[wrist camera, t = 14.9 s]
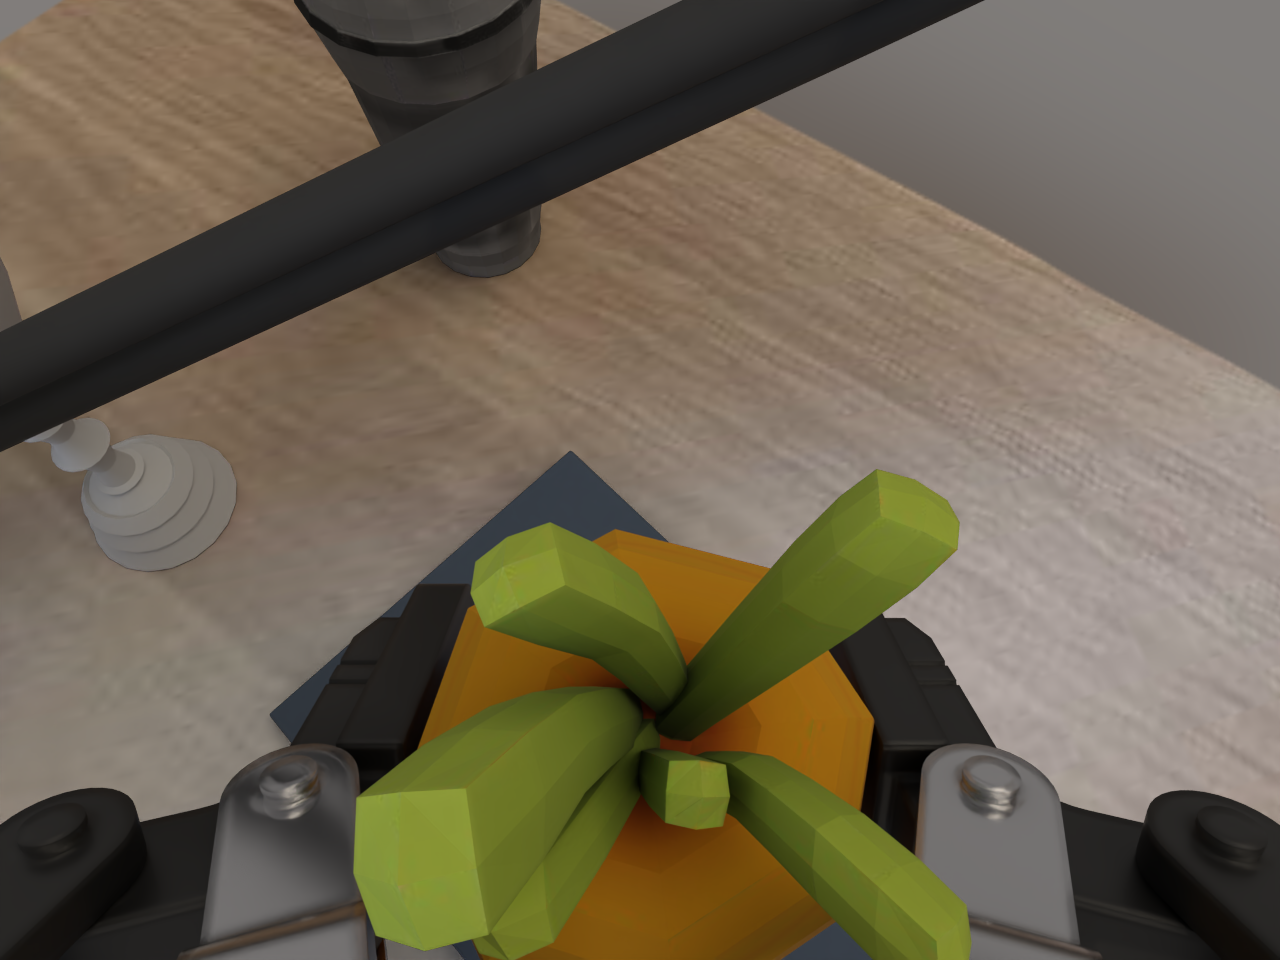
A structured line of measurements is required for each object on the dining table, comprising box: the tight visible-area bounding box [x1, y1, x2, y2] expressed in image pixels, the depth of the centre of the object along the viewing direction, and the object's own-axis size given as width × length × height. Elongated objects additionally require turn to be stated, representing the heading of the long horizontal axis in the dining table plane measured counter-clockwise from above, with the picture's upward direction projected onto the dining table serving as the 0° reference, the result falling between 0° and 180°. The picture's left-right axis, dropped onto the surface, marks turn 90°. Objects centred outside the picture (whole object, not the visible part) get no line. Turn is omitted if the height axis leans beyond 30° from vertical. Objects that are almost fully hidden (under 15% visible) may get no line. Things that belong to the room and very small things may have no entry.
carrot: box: [353, 469, 972, 960], centre depth 11 cm, size 5×5×15 cm
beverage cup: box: [294, 0, 541, 277], centre depth 25 cm, size 7×7×20 cm
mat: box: [270, 451, 873, 960], centre depth 25 cm, size 20×13×1 cm, turn 45°
